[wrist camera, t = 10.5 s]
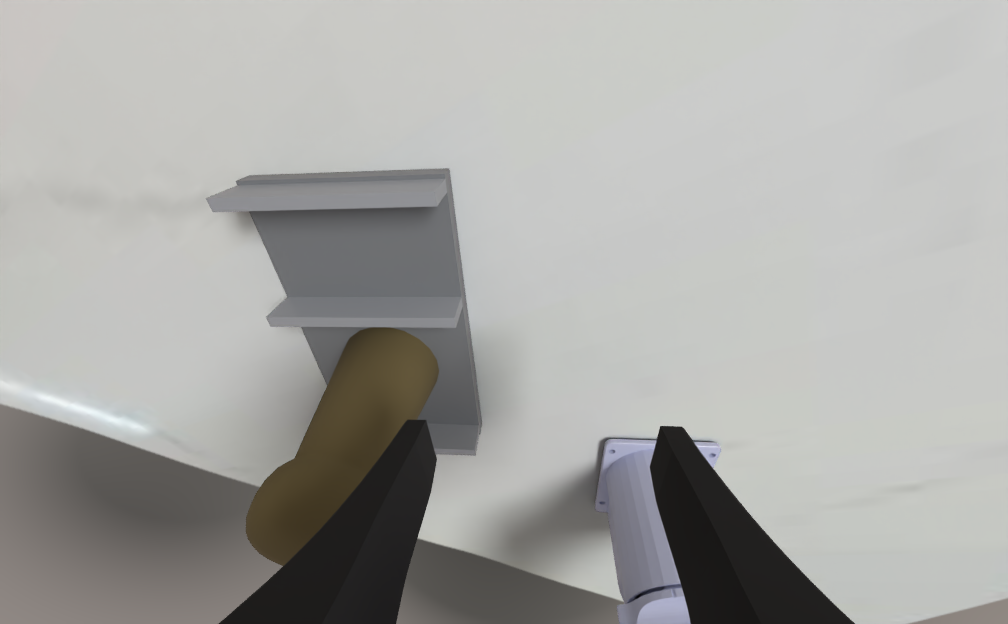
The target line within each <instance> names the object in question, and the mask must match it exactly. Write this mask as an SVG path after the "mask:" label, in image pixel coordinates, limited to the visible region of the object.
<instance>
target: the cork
mask: <svg viewBox="0 0 1008 624" xmlns="http://www.w3.org/2000/svg"><path fill="white" fill-rule="evenodd" d="M438 375H439V368H438V363H437V359H436V358H435V356H434V354H433V353H432V351H431V350H430V348H429V347H427V346H426V345H425V344H424V343H423V342H422V341H421V340H420V339H418V338H416V337H415V336H413V335H411V334H409V333H407V332H405V331H402V330H398V329H394V328H391V327H370V328H367V329H363V330H360V331H358V332H357V333H356V334H354V335H353V336H352V337H350V338H349V340H348V342H347V344H346V346H345V348H344V350H343V352H342V355H341V357H340V359H339V361H338V363H337V366H336V368H335V370H334V372H333V374H332V377H331V379H330V381H329V383H328V386H327V388H326V390H325V392H324V394H323V397H322V399H321V401H320V403H319V405H318V408H317V410H316V412H315V414H314V416H313V419H312V421H311V423H310V425H309V428H308V430H307V432H306V434H305V436H304V439H303V441H302V443H301V445H300V447H299V450H298V452H297V454H296V456H295V458H294V459H293V460H291V461H289V462H287V463H285V464H283V465H282V466H280V467H278V468H277V469H276V470H275V471H274V472H273V473H272V474H271V475H270V476H269V477H268V478H267V479H266V480H265V481H264V483H263V484H262V486H261V487H260V488H259V490H258V491H257V493H256V495H255V497H254V499H253V501H252V504H251V506H250V509H249V511H248V514H247V517H246V534H247V537H248V540H249V541H250V543H251V544H252V546H253V547H254V548H255V549H256V550H257V551H258V552H259V553H260V554H261V555H263V556H264V557H266V558H267V559H269V560H271V561H273V562H275V563H278V564H280V565H282V566H284V565H285V564H286V563H287V562H288V561H289V560H290V559H291V558H292V557H293V556H294V555H295V554H296V553H297V552H298V551H299V550H300V549H301V548H302V547H303V546H304V545H305V544H306V543H307V542H308V541H309V540H310V539H311V538H312V537H313V536H314V535H315V534H316V533H317V532H318V531H319V530H320V528H321V527H322V526H323V525H324V524H325V523H326V522H327V521H328V520H329V519H330V518H331V516H332V515H333V514H334V513H335V512H336V511H337V510H338V508H339V507H340V506H341V505H342V504H343V503H344V501H345V500H346V499H347V498H348V497H349V495H350V494H351V493H352V492H353V491H354V490H355V488H356V487H357V486H358V485H359V483H360V482H361V481H362V480H363V478H364V477H365V476H366V474H367V473H368V472H369V471H370V469H371V468H372V467H373V465H374V464H375V463H376V462H377V460H378V459H379V458H380V456H381V455H382V454H383V452H384V451H385V450H386V448H387V447H388V445H389V444H390V443H391V441H392V440H393V438H394V437H395V436H396V434H397V433H398V431H399V430H400V428H401V427H402V426H403V424H404V423H405V422H406V421H407V420H417V419H418V417H419V415H420V413H421V411H422V409H423V407H424V405H425V403H426V401H427V400H428V398H429V396H430V394H431V392H432V390H433V388H434V386H435V384H436V382H437V379H438Z"/></svg>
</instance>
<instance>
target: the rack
mask: <svg viewBox="0 0 1008 624" xmlns="http://www.w3.org/2000/svg"><path fill="white" fill-rule="evenodd" d="M236 183H237V186H235V187H232V188H230V189H227V190H225V191H223V192H220V193H218V194H215V195H213V196H210V197H208V198H206V200H207V202H208V204H209V206H210V208H211V209H212V211H213V212H236V211H249V212H250V214H251V216H252V219H253V221H254V223H255V225H256V227H257V230H258V232H259V234H260V236H261V239H262V241H263V243H264V245H265V248H266V250H267V252H268V254H269V256H270V259H271V261H272V263H273V265H274V268H275V270H276V272H277V274H278V277H279V279H280V281H281V283H282V285H283V288H284V290H285V292H286V294H287V298H286V299H285V300H284V301H283V302H282V303H281V304H280V305H279V306H277V307H276V308H275V309H274V310H273V311H272V312H271V313H270V314H269V315H268V316H267V317H266V318H267V320H268V322H269V324H270V326H271V327H301V328H302V330H303V332H304V335H305V337H306V339H307V341H308V343H309V346H310V348H311V350H312V352H313V355H314V357H315V359H316V361H317V364H318V366H319V368H320V370H321V372H322V375H323V377H324V379H325V381H326V384H327V386H328V383H329V381H330V379H331V377H332V374H333V372H334V370H335V368H336V366H337V363H338V361H339V359H340V357H341V355H342V352H343V350H344V348H345V346H346V344H347V342H348V340H349V338H350V337H352V336H353V335H354V334H356V333H357V332H358V331H360V330H363V329H367V328H370V327H391V328H394V329H398V330H402V331H405V332H407V333H409V334H411V335H413V336H415V337H416V338H418V339H420V340H421V341H422V342H423V343H424V344H425V345H426V346H427V347H429V348H430V350H431V351H432V353H433V354H434V356H435V358H436V359H437V363H438V368H439V375H438V379H437V382H436V384H435V386H434V388H433V390H432V392H431V394H430V396H429V398H428V400H427V401H426V403H425V405H424V407H423V409H422V411H421V413H420V415H419V417H418V419H417V420H426V421H427V425H428V428H429V432H430V436H431V440H432V443H433V447H434V451H435V454H449V455H474V456H476V451H477V445H478V438H479V434H480V433H481V427H482V419H481V411H480V403H479V395H478V388H477V380H476V372H475V364H474V357H473V349H472V341H471V333H470V326H469V318H468V310H467V302H466V295H465V287H464V279H463V271H462V263H461V256H460V248H459V240H458V232H457V225H456V217H455V209H454V201H453V194H452V186H451V178H450V170H449V169H420V170H392V171H363V172H335V173H307V174H278V175H250V176H247V177H244V178H242V179H239V180H237V181H236Z"/></svg>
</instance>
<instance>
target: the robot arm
mask: <svg viewBox="0 0 1008 624" xmlns="http://www.w3.org/2000/svg"><path fill="white" fill-rule="evenodd" d="M720 452H721V447H720V445H719V444H718V443H714V442H693V440H692V439H691V438H690V436H689V435H688V433H687V432H686V431H685V429H684V428H683V427H674V426H660V430H659V434H658V437H657V440H630V439H609V440H607V441H606V442H605V445H604V451H603V457H602V463H601V469H600V476H599V482H598V488H597V494H596V500H595V510H596V511H598V512H607V513H608V520H609V526H610V533H611V540H612V546H613V553H614V560H615V566H616V573H617V580H618V585H619V589H620V593H621V596H622V598H623V600H624V602H625V604H622V605H618V606H617V611H618V618H619V624H855V623H854V622H853V621H851V620H850V619H849V618H848V617H847V616H846V615H845V614H844V613H843V612H842V611H841V610H840V609H839V608H837V607H836V606H835V605H834V604H833V603H832V602H831V601H830V600H829V599H828V598H827V597H826V596H825V595H824V594H823V593H822V592H821V591H820V590H819V589H818V588H817V587H816V586H815V585H814V584H813V583H812V582H811V581H810V580H809V579H808V578H807V577H806V576H805V575H804V574H803V573H802V571H801V570H800V569H799V568H798V567H797V566H796V565H795V564H794V563H793V562H792V561H791V560H790V559H789V558H788V557H787V556H786V555H785V554H784V553H783V551H782V550H781V549H780V548H779V547H778V546H777V545H776V544H775V543H774V542H773V540H772V539H771V538H770V537H769V536H768V535H767V534H766V533H765V531H764V530H763V529H762V528H761V527H760V526H759V524H758V523H757V522H756V521H755V520H754V519H753V518H752V516H751V515H750V514H749V513H748V512H747V510H746V509H745V508H744V507H743V506H742V504H741V503H740V502H739V501H738V499H737V498H736V497H735V496H734V494H733V493H732V492H731V491H730V490H729V488H728V487H727V486H726V485H725V483H724V482H723V481H722V479H721V478H720V477H719V476H718V474H717V473H716V472H715V470H714V469H713V468H714V466H715V463H716V461H717V459H718V457H719V455H720ZM436 461H437V458H436V455H435V451H434V447H433V443H432V440H431V436H430V432H429V428H428V425H427V421H426V420H407V421H406V422H405V423H404V424H403V426H402V427H401V428H400V430H399V431H398V433H397V434H396V436H395V437H394V438H393V440H392V441H391V443H390V444H389V445H388V447H387V448H386V450H385V451H384V452H383V454H382V455H381V456H380V458H379V459H378V460H377V462H376V463H375V464H374V465H373V467H372V468H371V469H370V471H369V472H368V473H367V474H366V476H365V477H364V478H363V480H362V481H361V482H360V483H359V485H358V486H357V487H356V488H355V490H354V491H353V492H352V493H351V494H350V495H349V497H348V498H347V499H346V500H345V501H344V503H343V504H342V505H341V506H340V507H339V508H338V510H337V511H336V512H335V513H334V514H333V515H332V516H331V518H330V519H329V520H328V521H327V522H326V523H325V524H324V525H323V526H322V527H321V528H320V530H319V531H318V532H317V533H316V534H315V535H314V536H313V537H312V538H311V539H310V540H309V541H308V542H307V543H306V544H305V545H304V546H303V547H302V548H301V549H300V550H299V551H298V552H297V553H296V554H295V555H294V556H293V557H292V558H291V559H290V560H289V561H288V562H287V563H286V564H285V565H284V566H283V567H282V568H281V569H280V570H279V571H278V572H277V573H276V574H274V575H273V576H272V577H271V578H270V579H269V580H268V581H267V582H266V583H265V584H264V585H262V586H261V587H260V588H259V589H258V590H257V591H256V592H255V593H253V594H252V595H251V596H250V597H249V598H248V599H247V600H245V601H244V602H243V603H242V604H241V605H240V606H239V607H237V608H236V609H235V610H234V611H233V612H232V613H231V614H229V615H228V616H227V617H226V618H225V619H224V620H222V621H221V622H220V623H219V624H396V621H397V616H398V611H399V607H400V602H401V597H402V592H403V587H404V583H405V579H406V575H407V571H408V568H409V564H410V561H411V557H412V554H413V551H414V547H415V544H416V540H417V537H418V534H419V531H420V527H421V524H422V521H423V517H424V514H425V510H426V507H427V504H428V500H429V497H430V493H431V488H432V483H433V478H434V472H435V466H436Z"/></svg>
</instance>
